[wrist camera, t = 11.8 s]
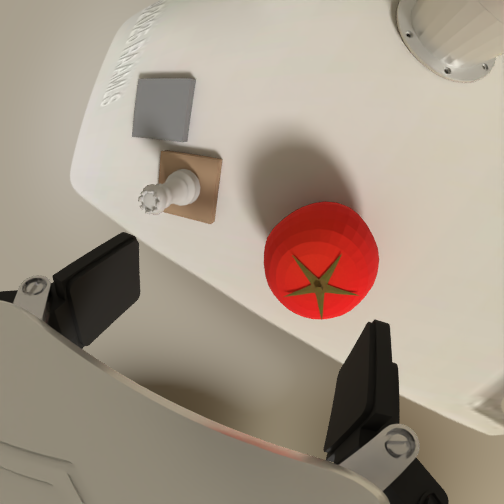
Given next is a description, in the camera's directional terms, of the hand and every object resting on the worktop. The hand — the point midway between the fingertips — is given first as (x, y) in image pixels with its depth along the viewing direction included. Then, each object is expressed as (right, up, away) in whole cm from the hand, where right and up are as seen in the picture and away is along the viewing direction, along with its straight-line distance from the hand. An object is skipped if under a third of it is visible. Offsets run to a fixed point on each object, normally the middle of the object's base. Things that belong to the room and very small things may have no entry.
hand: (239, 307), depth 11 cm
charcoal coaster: (-11, +20, +22) cm, 32 cm away
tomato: (+9, +3, +23) cm, 25 cm away
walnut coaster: (-7, +10, +25) cm, 29 cm away
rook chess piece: (-8, +10, +24) cm, 28 cm away
